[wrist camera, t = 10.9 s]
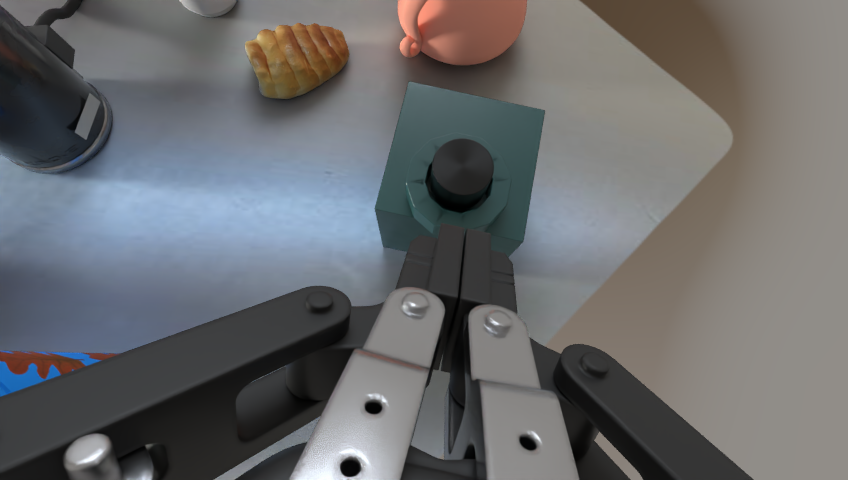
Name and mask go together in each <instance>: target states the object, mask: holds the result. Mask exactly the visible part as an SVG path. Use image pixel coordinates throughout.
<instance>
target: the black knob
mask: <svg viewBox="0 0 848 480" xmlns="http://www.w3.org/2000/svg"><path fill="white" fill-rule="evenodd" d="M493 173H494V163H493V159H492V157H491V155H490V153H489V152H488V150H487V149H486V148H485V147H484V146H483V145H481V144H480V143H478V142H476V141H474V140H471V139H466V138H458V139H453V140H450V141H448V142H446V143H444V144H443V145H442V146H441V147H440V148H439V149H438V150H437V151H436V153H435V155H434V158H433V162H432V170H431V178H430V185H431V190H432V192H433V194H434V196H435V197H436V199H437V200H438V201H439V202H440V203H442V204H443V205H445V206H447V207H449V208H453V209H466V208H470V207H472V206H474V205H476V204H477V203H478V202H479V201H480V200H481V199H482V198H483V196H484V194H485V192H486V190H487V188H488V185H489V183H490V181H491V179H492V177H493Z"/></svg>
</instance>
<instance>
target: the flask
mask: <svg viewBox="0 0 848 480" xmlns="http://www.w3.org/2000/svg"><path fill="white" fill-rule="evenodd" d="M544 114H545V110H541V109H536V108H532V107H527V106H522V105H518V104H513V103H508V102H504V101H499V100H494V99H490V98H485V97H480V96H476V95H471V94H466V93H461V92H457V91H452V90H447V89H443V88H438V87H433V86H429V85H424V84H419V83H415V82H410V81H409V82H408V86H407V90H406V93H405V97H404V101H403V105H402V108H401V112H400V116H399V120H398V123H397V127H396V131H395V135H394V138H393V142H392V146H391V150H390V153H389V157H388V161H387V165H386V168H385V172H384V176H383V180H382V183H381V187H380V191H379V195H378V198H377V202H376V206H375V212H376V216H377V221H378V225H379V230H380V234H381V239H382V243H383V247H388V248H392V249H397V250H401V251H405V252H407V251H408V248H409V245H410V242H411V241H412V240H414V239H415V238H417V237H418V236H419V235H423V236H428V237H432V238H437V239H438V234H439V230H440V225H441V223H444V224H449V225H454V226H458V227H463V228H465V231H466V229H467V228H468V229H472V230H477V231H482V232H486V233H491V250H493V251H497V252H502V253H505V254H506V255H507V257H509V256H510V255H511V254H512V253H513V252H514V251H515V250H516V249H517V248H518V247H519V246H520V244H521V243H522V242H523V240H524V234H525V228H526V222H527V216H528V210H529V204H530V198H531V192H532V186H533V180H534V174H535V168H536V162H537V156H538V150H539V144H540V138H541V132H542V126H543V120H544ZM458 138H466V139H471V140H474V141H476V142H478V143H480V144H481V145H483V146H484V147H485V148H486V149H487V150H488V152H489V153H490V155H491V157H492V159H493V163H494V173H493V177H492V179H491V181H490V183H489V185H488V188H487V190H486V192H485V194H484V196H483V198H482V199H481V200H480V201H479V202H478V203H477V204H476V205H474V206H472V207H470V208H466V209H453V208H449V207H447V206H445V205H443V204H442V203H440V202H439V201H438V200H437V199H436V197H435V196H434V194H433V192H432V190H431V185H430V178H431V170H432V162H433V158H434V155H435V153H436V151H437V150H438V149H439V148H440V147H441V146H442V145H443V144H444V143H446V142H448V141H450V140H453V139H458ZM465 231H464V235H465Z"/></svg>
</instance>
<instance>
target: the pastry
mask: <svg viewBox="0 0 848 480" xmlns="http://www.w3.org/2000/svg"><path fill="white" fill-rule="evenodd" d="M245 50H246V53H247V56H248V58H249V61H250V63H251V65H252V66H253V69H254V71H255V74H256V75H257V78H258V80H259V89H260V91H261V94H263V95H264V96H265V97H269V98H280V99H291V98H293V97H295V96H299V95H303V94H305V93H307V92H309V91H311V90H313V89H314V88H315V87H318V86H319V85H321V84H322V83H323V82H325V81H328V79H330V78H332V77H333V76H334V75H336V74H337V73H338V72H339V71H340V70H341V69H342V68H343V66H344V65H345V64H346V63H347V61H348V57H349V50H348V46H347V44H346V41H345V38H344V35H343V33H342V32H341V31H339V30H336V29H334V28H332V27H327V26H319V25H318V24H315V23H314V24H311V25H308V26H306V25H303V24H301V23H297V24H295V25H294V26H288V25H279V26H278V27H277V28H276V29H275V31H271V30H268V29H264V30H262V31H260V32H259V34H258V36H257V38H256V39H255V40H251V41H247V42H246V43H245Z"/></svg>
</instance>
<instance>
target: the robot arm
mask: <svg viewBox="0 0 848 480" xmlns="http://www.w3.org/2000/svg"><path fill="white" fill-rule="evenodd" d="M82 1H83V0H68V1H67V2H66V4H65V5H64V6H63V7H62V8H60V9H57V8H54V9H50V10H47V11H45V12H44V13H43V14H42V15H41V16H40V17H39V18H38V19H37V21H36V22H35V24H34V25H33V26H24V25H22V24H21V23H20V22H19V21H18V20H17V19H16V18H14V17H13V16H12V15H11V14H10V13H9V12H8V11H6V10H5V9H4V8H3V7H2V6H1V5H0V155H2V156H4V157H6V158H8V159H9V160H11V161H12V162H14V163H15V164H17V165H19V166H21V167H23V168H25V169H27V170H30V171H33V172H38V173H59V172H63V171H67V170H70V169H73V168H75V167H77V166H79V165H81V164H83V163H84V162H86V161H87V160H89V159H90V158H91V157H93V156H94V155H95V154H96V153H97V152H98V151H99V149H100V148H101V147H102V146H103V144H104V143H105V141H106V139H107V137H108V135H109V132H110V129H111V124H112V114H111V109H110V106H109V104H108V102H107V100H106V98H105V97H104V96H103V95H102V94H101V93H100V92H99V91H98V90H97V89H96V88H94V87H93V86H92V85H91V84H89V83H87V82H86V81H84V79H83V77H82V76H81V75H80V74H79V73H78V72H77V71H75V70H74V69H73V62H74V53H75V50H74V49H73V48H72V47H71V46H70V45H69V44H68V43H67V42H66V41H64V40H63V39H62V38H61V37H60V36H59V35H58V34H57V33H56V32H55V31H54V30H53V29H52V28H50V27H49V26H50V25H51V24H52V23H53V22H54V21H55V20H57V19H65V18H69V17H70V16H72V15H73V14H74V12H75V11H76V10H77V9H78V7H79V6H80V4H81V2H82ZM464 231H465V228H463V227H458V226H454V225H449V224H444V223H441V225H440V230H439V234H438V239H437V238H432V237H428V236H423V235H419V236H418V237H417V238H415V239H414V240H412V241H411V242H410V245H409V248H408V251H407V255H406V258H405V261H404V264H403V267H402V270H401V273H400V276H399V280H398V283H397V286H396V289H395V290H394V291H393V292H391V293H390V294H389V295H388V297H387V298H386V300H385V302H383V303H381V304H378V305H374V306H359V307H351V302H350V300H349V298H348V297H347V296H346V295H345V294H344V293H342V292H341V291H339V290H337V289H334V288H331V287H326V286H311V287H306V288H302V289H300V290H297V291H294V292H291V293H288V294H286V295H283V296H280V297H277V298H275V299H272V300H269V301H266V302H263V303H261V304H258V305H255V306H252V307H249V308H247V309H244V310H241V311H238V312H235V313H233V314H230V315H227V316H224V317H221V318H219V319H216V320H213V321H210V322H208V323H205V324H202V325H199V326H196V327H194V328H191V329H188V330H185V331H182V332H180V333H177V334H174V335H171V336H168V337H166V338H163V339H160V340H157V341H155V342H152V343H149V344H146V345H143V346H141V347H138V348H135V349H132V350H129V351H127V352H124V353H121V354H118V355H115V356H113V357H110V358H107V359H104V360H102V361H99V362H96V363H93V364H90V365H88V366H85V367H82V368H79V369H76V370H74V371H71V372H68V373H65V374H62V375H60V376H57V377H54V378H51V379H48V380H46V381H43V382H40V383H37V384H35V385H32V386H29V387H26V388H23V389H21V390H18V391H15V392H12V393H9V394H7V395H4V396H1V397H0V480H213V479H215V478H217V477H218V476H220V475H222V474H224V473H225V472H227V471H229V470H230V469H232V468H234V467H235V466H237V465H239V464H240V463H242V462H244V461H245V460H247V459H249V458H250V457H252V456H254V455H255V454H257V453H259V452H260V451H262V450H264V449H266V448H267V447H269V446H271V445H272V444H274V443H276V442H277V441H279V440H281V439H282V438H284V437H286V436H287V435H289V434H291V433H292V432H294V431H296V430H297V429H299V428H301V427H303V426H304V425H306V424H308V423H309V422H311V421H313V420H314V419H316V418H318V417H319V416H321V417H320V419H319V421H318V423H317V425H316V427H315V429H314V431H313V433H312V435H311V437H310V439H309V441H308V442H306V443H302V444H298V445H295V446H292V447H290V448H287V449H284V450H282V451H280V452H278V453H276V454H274V455H272V456H271V457H269V458H267V459H266V460H264V461H262V462H261V463H259V464H258V465H256V466H255V467H253V468H252V469H250V470H249V471H247V472H246V473H244V474H243V475H241V476H240V477H238V478H236V479H235V480H630V479H629V478H628V476H627V475H625V473H624V472H623V471H622V470H621V469H620V468H619V467H618V466H617V465H616V464H615V463H614V462H613V460H612V459H610V457H609V456H608V455H607V454H606V453H605V452H604V451H603V450H602V449H601V448H600V447H599V446H598V444H597V443H596V442H595V441H594V439H595V438H596V436H597V434H598V433H599V431H600V432H601V433H602V434H603V435H604V437H606V439H607V440H608V441H609V442H610V443H611V444H612V445H613V446H614V447H615V448H616V449H617V450H618V451H619V452H620V453H621V454H622V455H623V456H624V457H625V458H626V459H627V460H628V461H629V462H630V463H631V465H632V466H633V467H635V469H636V470H637V471H638V472H639V473H640V475H641V476H642V478H643V480H753V479H752V478H751V477H750V476H749V475H748V474H746V473H745V472H744V471H743V470H742V469H741V468H739V467H738V466H737V465H736V464H735V463H734V462H733V461H731V460H730V459H729V458H728V457H727V456H725V455H724V454H723V453H722V452H721V451H720V450H718V448H716V447H715V446H714V445H713V444H712V443H710V442H709V441H708V440H707V439H706V438H705V437H704V436H702V435H701V434H700V433H699V432H698V431H697V430H696V429H694V428H693V427H692V426H691V425H690V424H689V423H687V422H686V421H685V420H684V419H683V418H682V417H680V416H679V415H678V414H677V413H676V412H675V411H674V410H672V409H671V408H670V407H669V406H668V405H667V404H665V403H664V402H663V401H662V400H661V399H660V398H658V397H657V396H656V395H655V394H654V393H653V392H652V391H650V390H649V389H648V388H647V387H646V386H645V385H644V384H642V383H641V382H640V381H639V380H638V379H637V378H635V377H634V376H633V375H632V374H631V373H630V372H628V371H627V370H626V369H625V368H624V367H623V366H622V365H620V364H619V363H618V362H617V361H616V360H615V359H613V358H612V357H611V356H609V355H608V354H607V353H605V352H603V351H601V350H600V349H597V348H595V347H592V346H589V345H584V344H573V345H570V346H568V347H566V348H565V349H564V350H563V352H562V354H559V353H557V352H555V351H553V350H551V349H548V348H547V347H544V346H542V345H541V344H539V343H537V342H536V341H534V340H533V339H531V338H530V337H529V334H528V330H527V326H526V324H525V323H524V321H523V320H522V319H521V318H520V317H519V316H518V315H517V305H516V294H515V286H514V284H515V283H514V277H513V276H514V273H513V264H512V262H511V261H510V260H509V258H508V257H507V255H506V254H505V253H502V252H497V251H493V250H491V233H486V232H482V231H477V230H472V229H468V228H467V229H466V231H465V235H464ZM442 355H443V358H442ZM441 358H442V366H441V371H444V372H449V373H450V382H449V385H448V389H447V392H446V396H445V421H444V460H442V459H438V458H435V457H433V456H431V455H429V454H427V453H425V452H423V451H421V450H419V449H417V448H415V447H413V446H411V442H412V438H413V434H414V430H415V427H416V423H417V419H418V415H419V411H420V408H421V404H422V400H423V396H424V392H425V388H426V387H427V386H428V385H429V383H430V379H431V376H432V372H433V369H435V370H439V366H440V362H441ZM283 366H285V367H283ZM281 367H283V368H281ZM279 368H281V369H279ZM277 369H279V370H277ZM275 370H277V371H275ZM273 371H275V372H273ZM271 372H273V373H271ZM269 373H271V374H269ZM267 374H268V375H267ZM265 375H266V376H265ZM262 376H264V377H262ZM260 377H262V378H260ZM258 378H260V379H258ZM256 379H258V380H256ZM254 380H256V381H254ZM252 381H254V382H252ZM251 382H252V383H251ZM249 383H250V384H249Z"/></svg>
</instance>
